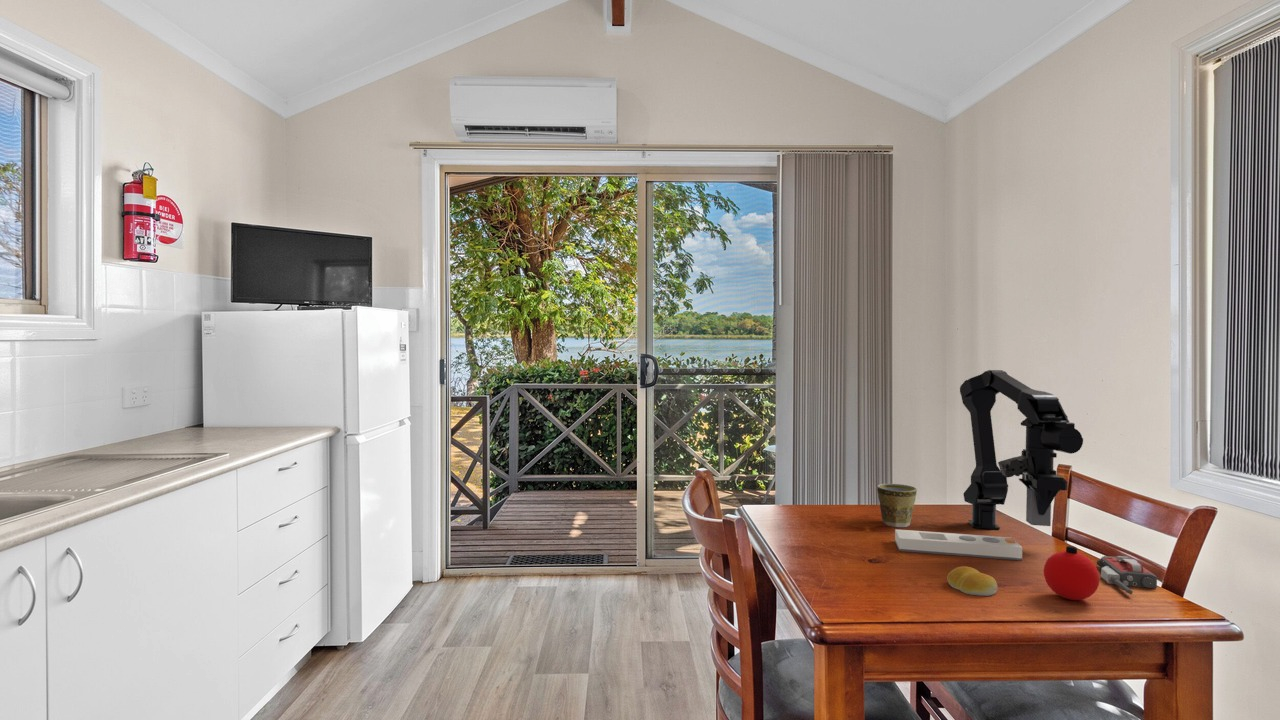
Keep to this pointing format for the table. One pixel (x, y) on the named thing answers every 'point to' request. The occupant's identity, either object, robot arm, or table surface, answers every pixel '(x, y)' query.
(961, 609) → the table surface
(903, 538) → the power strip
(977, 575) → the bread roll
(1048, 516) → the grey rectangular block
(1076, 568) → the ornament
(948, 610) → the table surface
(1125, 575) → the walkie-talkie
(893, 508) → the ceramic cup
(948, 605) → the table surface
